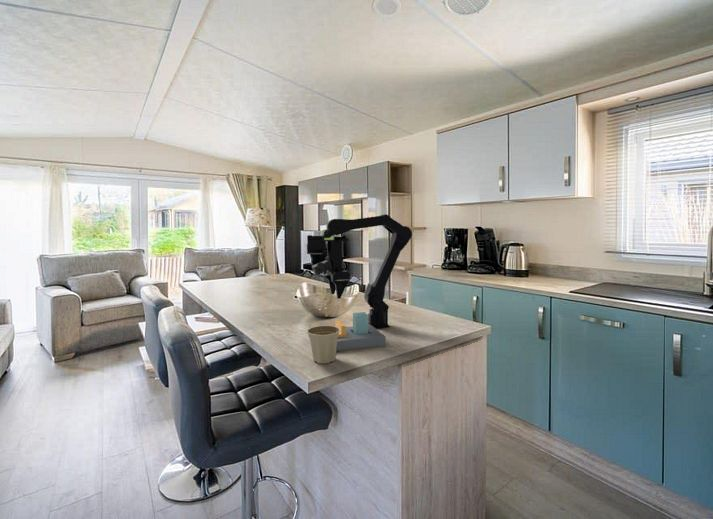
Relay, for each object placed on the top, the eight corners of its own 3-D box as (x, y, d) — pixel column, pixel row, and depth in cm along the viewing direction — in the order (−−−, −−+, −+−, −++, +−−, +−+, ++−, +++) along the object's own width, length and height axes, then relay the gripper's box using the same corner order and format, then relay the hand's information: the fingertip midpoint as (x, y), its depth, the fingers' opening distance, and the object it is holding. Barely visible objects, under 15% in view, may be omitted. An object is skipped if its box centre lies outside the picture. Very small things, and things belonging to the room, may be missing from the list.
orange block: (339, 329, 121) (339, 319, 121) (346, 336, 114) (346, 325, 113) (315, 332, 119) (315, 321, 118) (320, 339, 111) (320, 328, 111)
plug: (353, 339, 121) (352, 313, 120) (364, 338, 122) (364, 312, 121) (356, 343, 117) (356, 315, 116) (368, 342, 118) (368, 314, 117)
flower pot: (312, 368, 96) (312, 336, 96) (303, 356, 105) (302, 327, 104) (345, 363, 100) (345, 332, 99) (333, 352, 109) (333, 323, 108)
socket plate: (370, 333, 128) (370, 324, 128) (385, 345, 114) (385, 336, 114) (314, 338, 122) (314, 329, 122) (323, 352, 109) (322, 342, 108)
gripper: (308, 252, 138) (309, 293, 140) (318, 256, 121) (319, 302, 122) (337, 251, 142) (337, 291, 143) (350, 255, 124) (351, 300, 125)
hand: (335, 296), depth 133 cm, fingers open, 9 cm apart
